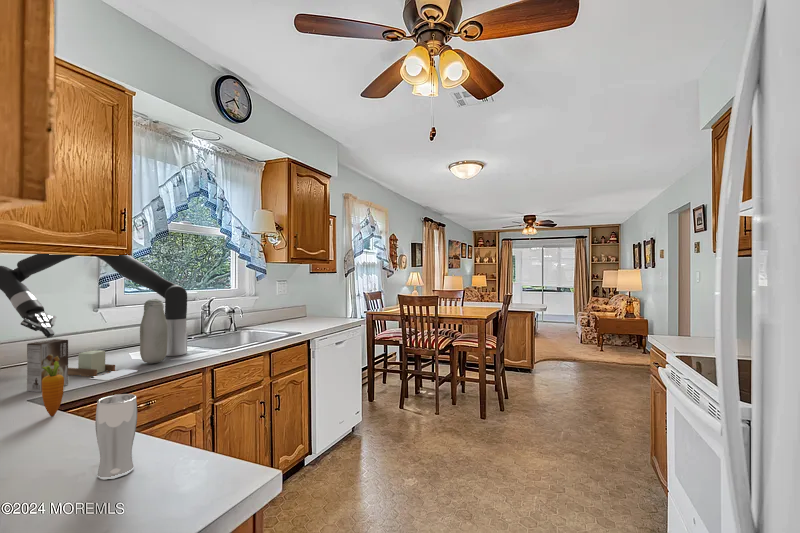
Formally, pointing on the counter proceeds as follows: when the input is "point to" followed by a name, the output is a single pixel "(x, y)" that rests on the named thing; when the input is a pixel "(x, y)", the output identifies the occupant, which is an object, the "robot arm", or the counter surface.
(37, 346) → the coffee box
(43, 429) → the counter surface
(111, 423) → the beer glass
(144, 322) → the grey bottle
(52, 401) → the carrot
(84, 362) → the block
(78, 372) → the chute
